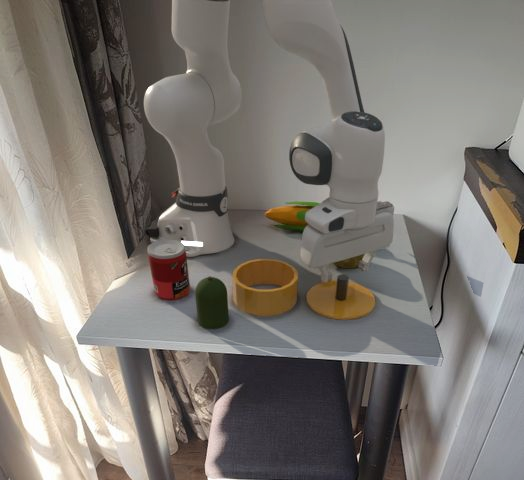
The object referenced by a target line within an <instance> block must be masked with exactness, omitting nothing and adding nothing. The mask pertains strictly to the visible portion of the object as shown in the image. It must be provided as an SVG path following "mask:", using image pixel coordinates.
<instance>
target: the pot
mask: <svg viewBox="0 0 524 480" xmlns="http://www.w3.org/2000/svg"><path fill="white" fill-rule="evenodd" d="M231 282H232V297H233V298H232V299H233V300H232V301H233V302H234V305H235V306H236V308H238V309H239V310H241V311H242V312H244V313H246V314H249V315H253V316H255V317H273V316H277V315H278V316H279V315H282V314H284V313H285V314H286V312H288V311H291V310H292V309H293V308H294V307H295V305H296V304H297V303H298V287H299V286H298V285H299V284H298V283H299V272H298V270H297V268H295V267H294V265H292V264H290V263H288V262H286V261H284V260H280V259H274V258H257V259H252V260H247V261H245V262H243V263H241V264H239V265H237V267H235V268H234V269H233V271H232V276H231ZM261 284H264V285H275V286H279V287H278V288H277V287H275V288H271V289H265V288H264V289H261V288H259V289H258V288H254V287H251V286H256V285H261Z"/></svg>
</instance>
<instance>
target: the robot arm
mask: <svg viewBox="0 0 524 480" xmlns="http://www.w3.org/2000/svg"><path fill="white" fill-rule="evenodd" d="M260 3H261V7H262V8H261V9H262V14H263V19H264V23H265V25H266V29H267V31H268V33H269V35H270V37H271V38H272V40H273V41H274V42H275V43H276V44H277V45H278V46H279V47H281V48H282V49H283V50H284V51H286V52H288V53H290V54H293V55H296V56H298V57H300V58H302V59H304V60H306V61H307V62H308V63H310V64H311V65H312V66H313V67H314V68H315V69H316V71H318V74H319V75H320V77H321V79H322V83H323V87H324V91H325V95H326V99H327V103H328V108H329V112H330V115H331V122H329V123H326V124H322V125H319V126H316V127H312V128H309V129H305V130H303V131H301V132H299V133H297V134H296V135H295V136H294V137H293V140H292V141H291V143H290V147H289V152H288V153H289V154H288V160H289V165H290V169H291V171H292V173H293V174H294V176H295V178H297V180H298V181H300V182H301V183H303V184H305V185H312V186H324V185H325V186H326V187H327V186H328V188H329V196H328V197H327V198H325V199H324V200H323V201H322V202H319V203H320V204H319V205H317V206H315V207H314V208H312V209H310V210H309V211H307V212H306V214H305V221H306V222H307V223H308V225H307V226H306V227H305V229H304V231H303V232H302V235H301V242H300V260H301V261H302V263H304V265H306V266H307V267H308V268H310V269H317V268H318V270H319V272H320V280H321V282H324V283H326V282H330V281H333V279H332V278H333V273H331V272H330V271H329V270H327V269H329V267H330V266H329V265H332V264H331V263H334V262H338V261H341V260H345V259H348V258H352V257H355V256H359V255H362V254H365V255H364V257H363V259H362V260H361V261H359V266H358V267H357V269H359V271H361V272H365V271H368V270H370V264H371V263H372V261H373V260H374V258H375V256H376V254H377V251H379V250H382V249H383V250H384V249H386V248H389V247H390V246H391V244H392V242H393V239H394V228H395V227H394V226H395V223H394V214H395V207H394V204H393V203H391V202H390V201H386V200H385V201H382V202H383V203H379V204H377V202H378V201H379V188H378V187H379V179H380V177H381V176H382V172H383V164H384V157H385V144H386V143H385V142H386V137H385V135H386V134H385V128H384V124H383V122H382V121H381V120H380V119H379V118H378V117H377V116H375V115H374V114H371V113H368V112H365V109H364V105H363V101H362V97H361V92H360V87H359V83H358V78H357V73H356V69H355V64H354V60H353V56H352V51H351V47H350V44H349V40H348V38H347V35H346V32H345V30H344V28H343V26H342V25H341V24H340V22H339V19H338V17H337V15H336V12H335V9H334V5H333V2H332V0H260ZM230 9H231V0H171V35H172V39H173V40H174V42H175V43H176V44H177V45H178V47H180V48H181V50H183V51H184V54H185V59H186V64H187V65H186V66H187V68H186V72H184V73H182V74H181V73H180V74H175V75H169V76H166V77H164V78H162V79H159V80H158V81H156V82H154V83H153V84H151V85H150V86H149V87H148V88H147V89H146V90H145V92H144V95H143V96H144V97H143V109H144V114H145V117H146V119H147V122H148V124H150V125H149V126H151V127H152V128H153V130H155V132H157V133H158V134H160V135H162V136H163V137H164V139H165V140H166V141H167V142H168V145H169V146H170V148H171V150H172V152H173V155H174V158H175V162H176V168H177V169H176V170H177V174H178V183H179V187H178V188H176V189H175V191H173V192H171V195H172V196H171V198H173V199H174V198H175V197H176V198H175V202H174V203H173V204H171V205H170V206H169V207H168V208H167V209H166V210H165V211H163V212H162V213H161V214H160V216H159V217H158V220H152V222H151V224H150V225H149V227H146V228H145V229H144V233H145V235H146V236H147V237H148V238H150V239H149V240H150V241H149V242H150V244H152V243H154V242H156V241H160V240H176V241H180V242H182V243H183V244H184V246H185V250H186V258H192V257H197V256H200V255H209V254H210V255H211V254H216V253H220V252H223V251H225V250H228V249H229V248H231V247H232V246H233V245H234V243H235V237H234V235H233V231H232V227H231V224H230V223H231V222H230V219H229V196H228V187H227V186H226V175H225V159H224V156H223V153H222V152H221V150H219V149H218V148H217V147H215V146H214V145H212V143H211V141H210V138H209V134H208V127H209V126H213V125H217V124H219V123H223V122H225V121H226V120H227V119H229V118H231V117H232V116H233V115H234V114H236V113H237V112H238V111H239V110H240V107H241V104H242V101H243V100H242V99H243V91H242V86H241V83H240V81H239V79H238V78H237V76H236V75H235V74H234V73H233V71H232V67H231V64H230V59H229V58H230V57H229V50H228V36H229V35H228V34H229V23H230Z"/></svg>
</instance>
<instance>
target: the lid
mask: <svg viewBox="0 0 524 480" xmlns="http://www.w3.org/2000/svg"><path fill="white" fill-rule="evenodd" d="M305 299H306V304H307V305H308V307H309V308H310V309H311V310H312V311H313V312H314V313H316V314H318V315H320V316H323V317H325V318H327V319H328V318H329V319H334V320H339V321H345V320H347V321H348V320H350V321H351V320H356V319H361V318H363V317H366V316H367V315H369V314H370V313H371V312H372V311H374V309H375V307H376V297H375V296H374V294H373V292H372V291H370V289H368V288H367V287H365V286H363V285H361V284H359V283H356V282H352V281H350V277H349V276H348V275H346V274H339V275H337V277H336V280H331V281H330V282H326V283H324V282H323V281H321V282H319V283H317V284H315V285H313V286H312V287H310V289H308V291H307V293H306V297H305Z"/></svg>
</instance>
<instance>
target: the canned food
mask: <svg viewBox="0 0 524 480" xmlns="http://www.w3.org/2000/svg"><path fill="white" fill-rule="evenodd" d="M147 258H148V262H149V268H150V274H151V279H152V285H153V290H154V293H155V296H156V297H157V298H158V299H160V300H162V301H163V300H165V301H177V300H182V299H183V298H185V297H187V296H188V295H189V293H190V290H191V286H190V285H191V283H190V276H189V275H190V274H189V267H188V266H189V265H188V257H187V256H186V250H185V246H184V244H183V243H182V242H180V241H176V240H160V241H156V242H154V243H150V244H149V245H148V246H147Z"/></svg>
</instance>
